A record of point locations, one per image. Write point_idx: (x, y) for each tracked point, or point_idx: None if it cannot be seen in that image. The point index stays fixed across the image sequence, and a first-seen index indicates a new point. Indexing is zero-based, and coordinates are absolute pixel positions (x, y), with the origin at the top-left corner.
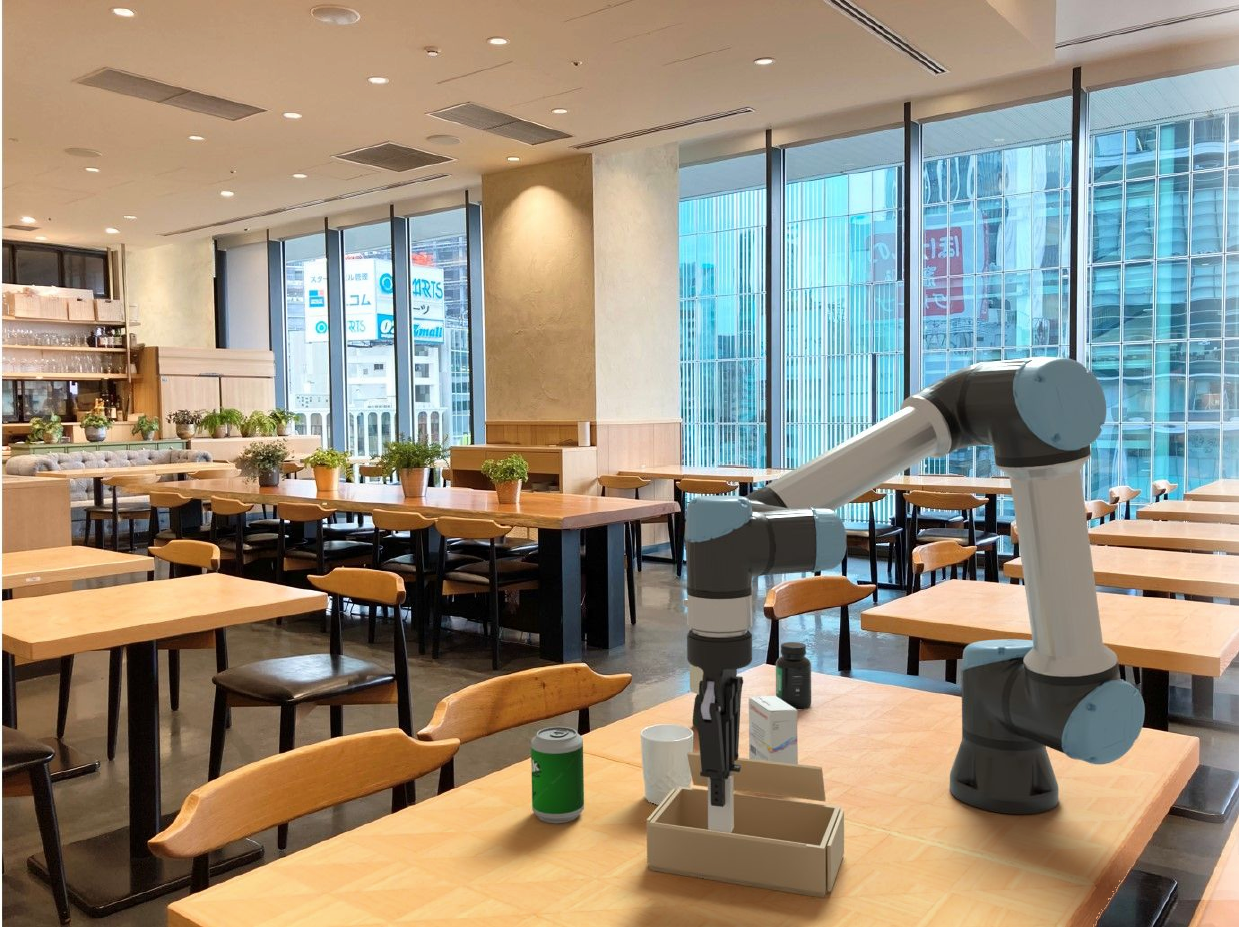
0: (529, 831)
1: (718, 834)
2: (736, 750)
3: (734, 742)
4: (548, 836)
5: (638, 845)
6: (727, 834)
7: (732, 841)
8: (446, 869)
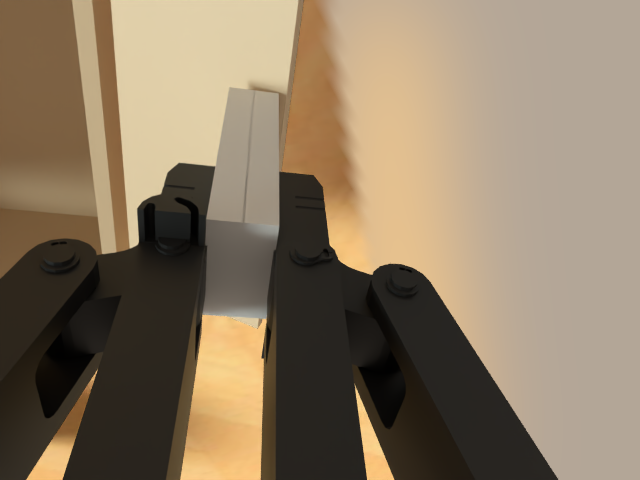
0: (80, 422)
1: (284, 132)
2: (56, 287)
3: (40, 341)
4: (84, 397)
5: None
6: (286, 102)
7: (105, 64)
8: (257, 463)
